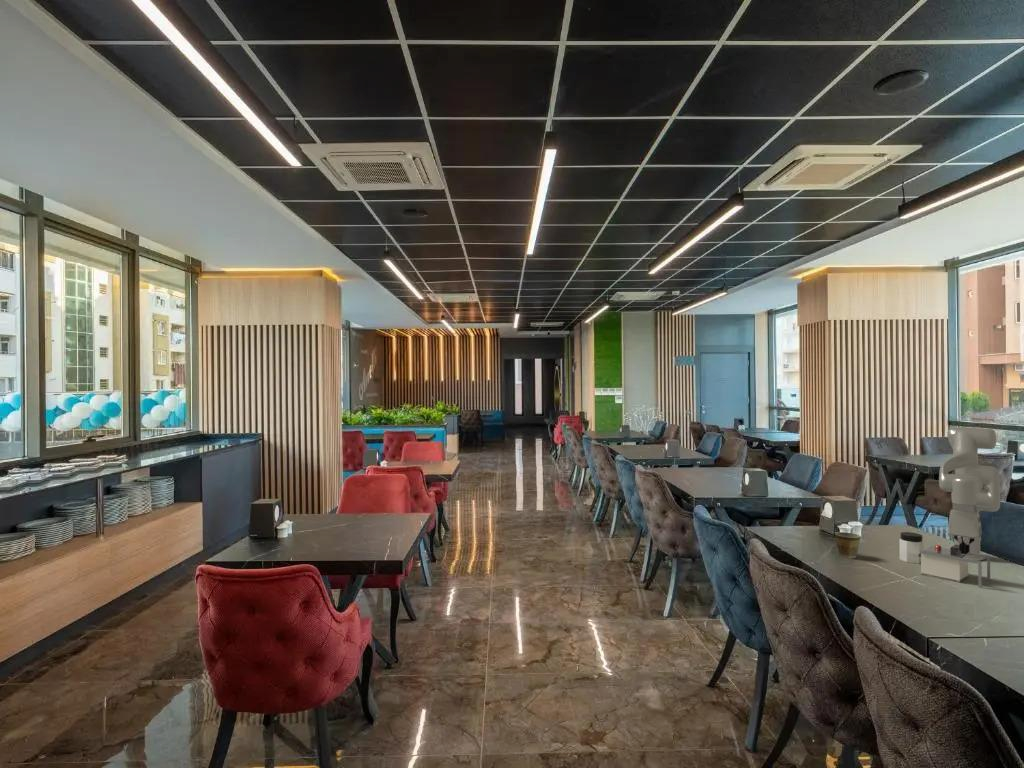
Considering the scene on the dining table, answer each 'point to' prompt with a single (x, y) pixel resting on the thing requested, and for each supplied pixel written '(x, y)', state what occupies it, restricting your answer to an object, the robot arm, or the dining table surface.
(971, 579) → the dining table surface
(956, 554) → the lid
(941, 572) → the white box with rails
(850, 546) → the ceramic cup
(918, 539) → the jar
